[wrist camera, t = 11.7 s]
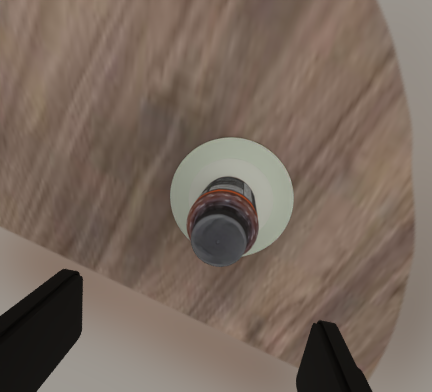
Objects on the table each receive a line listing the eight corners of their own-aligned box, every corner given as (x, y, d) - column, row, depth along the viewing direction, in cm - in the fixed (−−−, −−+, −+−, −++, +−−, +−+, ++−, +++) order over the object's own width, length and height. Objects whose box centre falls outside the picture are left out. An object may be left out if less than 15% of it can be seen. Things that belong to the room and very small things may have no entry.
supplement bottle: (244, 232, 29) (243, 292, 18) (196, 215, 29) (166, 264, 18) (263, 185, 27) (274, 219, 16) (212, 167, 28) (189, 189, 17)
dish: (218, 270, 32) (216, 277, 31) (151, 183, 30) (146, 185, 29) (314, 212, 29) (318, 216, 27) (246, 111, 27) (246, 109, 26)
